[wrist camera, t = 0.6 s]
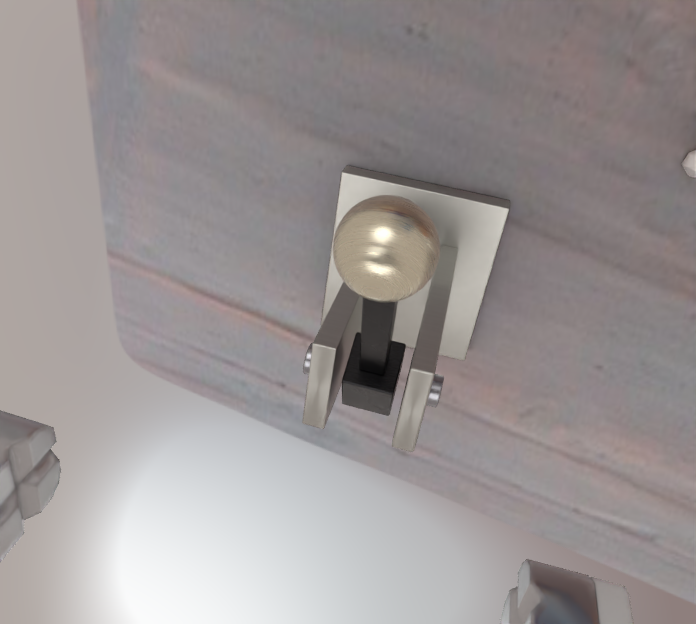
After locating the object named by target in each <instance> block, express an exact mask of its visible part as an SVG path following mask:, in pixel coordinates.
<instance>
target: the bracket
mask: <svg viewBox="0 0 696 624" xmlns="http://www.w3.org/2000/svg"><path fill="white" fill-rule="evenodd" d="M378 195H395V196H400V197H403V198H406V199H408V200H410V201H412V202H414V203H416V204H417V205H418V206H420V207H421V208H422V209H423V210H424V211H425V212H426V213H427V214H428V215H429V217H430V218H431V219H432V221H433V223H434V225H435V227H436V230H437V233H438V236H439V242H440V255H439V261H438V264H437V267H436V270H435V272H434V274H433V276H432V277H431V279H430V280H429V282H428V283H427V284H426V285H425V286H424V287H423V288H422V289H421V290H420V291H418V292H417V293H416V294H414V295H413V296H410V297H408V298H406V299H404V300H400V301H398V304H397V311H396V317H395V324H394V330H393V337H392V341H396V342H400V343H404V344H406V347H410V348H414V349H415V350H414V354H413V358H412V362H411V366H410V370H409V374H408V378H407V382H406V386H405V390H404V395H403V399H402V403H401V407H400V411H399V415H398V420H397V424H396V428H395V432H394V436H393V440H392V447H394V448H398V449H402V450H406V451H409V452H413V451H414V449H415V446H416V442H417V438H418V434H419V431H420V427H421V423H422V420H423V416H424V412H425V408H426V405H428V406H432V407H437V405H438V402H439V398H440V394H441V390H442V386H443V380H444V376H442V375H438V374H435V370H436V365H437V360H438V355H442V356H446V357H450V358H454V359H458V360H462V361H464V360H465V357H466V354H467V351H468V347H469V344H470V341H471V337H472V334H473V331H474V327H475V324H476V321H477V317H478V314H479V310H480V307H481V304H482V300H483V297H484V294H485V290H486V287H487V284H488V280H489V277H490V274H491V270H492V267H493V263H494V260H495V257H496V253H497V250H498V247H499V243H500V240H501V237H502V233H503V230H504V226H505V223H506V220H507V216H508V213H509V210H510V201H509V200H505V199H501V198H496V197H491V196H487V195H482V194H478V193H473V192H468V191H464V190H459V189H454V188H450V187H445V186H440V185H436V184H431V183H427V182H422V181H417V180H413V179H408V178H403V177H399V176H394V175H390V174H385V173H380V172H376V171H371V170H366V169H362V168H357V167H353V166H348V165H347V166H346V167H345V168H344V170H343V171H342V173H341V180H340V187H339V195H338V202H337V209H336V217H335V224H334V231H333V239H332V246H331V253H330V260H329V268H328V275H327V282H326V290H325V297H324V304H323V311H322V319H321V328H320V330H319V332H318V334H317V336H316V338H315V340H314V342H313V343H311V344H310V346H309V348H308V350H307V353H306V356H305V361H304V366H303V372H304V373H305V374H308V375H309V376H308V383H307V391H306V399H305V406H304V414H303V421H302V423H303V424H307V425H310V426H314V427H318V428H322V429H324V427H325V425H326V422H327V420H328V417H329V415H330V412H331V410H332V407H333V404H334V402H335V399H336V397H337V394H338V392H339V389H340V386H341V384H342V378H343V375H344V372H345V368H346V365H347V362H348V358H349V355H350V352H351V348H352V345H353V341H354V338H355V335H356V333H357V332H360V333H361V321H362V301H363V297H361V296H360V295H358V294H357V293H355V292H354V291H352V290H351V289H350V288H349V287H348V286H347V285H346V284H345V283H344V281H343V280H342V278H341V277H340V275H339V273H338V271H337V269H336V266H335V263H334V258H333V240H334V236H335V232H336V229H337V227H338V225H339V223H340V221H341V220H342V218H343V217H344V215H345V214H346V213H347V212H348V211H349V210H350V209H351V208H352V207H353V206H355V205H356V204H358V203H359V202H361V201H363V200H365V199H367V198H371V197H374V196H378Z"/></svg>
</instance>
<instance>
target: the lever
mask: <svg viewBox="0 0 696 624" xmlns="http://www.w3.org/2000/svg"><path fill="white" fill-rule="evenodd" d="M439 255H440V242H439V236H438V233H437V230H436V227H435V225H434V223H433V221H432V219H431V218H430V217H429V215H428V214H427V213H426V212H425V211H424V210H423V209H422V208H421V207H420V206H418V205H417V204H416V203H414V202H412V201H410V200H408V199H406V198H403V197H400V196H395V195H378V196H374V197H371V198H367V199H365V200H363V201H361V202H359V203H358V204H356V205H355V206H353V207H352V208H351V209H350V210H349V211H348V212H347V213H346V214H345V215H344V217H343V218H342V220H341V221H340V223H339V225H338V227H337V229H336V232H335V236H334V240H333V258H334V263H335V266H336V269H337V271H338V273H339V275H340V277H341V278H342V280H343V281H344V283H345V284H346V285H347V286H348V287H349V288H350V289H351V290H352V291H354V292H355V293H357V294H358V295H360V296H361V297H363V301H362V321H361V333H360V332H357V333H356V335H355V338H354V341H353V345H352V348H351V352H350V355H349V358H348V362H347V365H346V368H345V372H344V375H343V378H342V403H343V404H345V405H349V406H353V407H356V408H360V409H364V410H368V411H372V412H376V413H379V414H383V415H387V416H389V415H390V411H391V407H392V403H393V399H394V395H395V391H396V387H397V383H398V379H399V375H400V372H401V367H402V362H403V357H404V352H405V347H406V344H404V343H400V342H396V341H392V337H393V330H394V324H395V317H396V311H397V304H398V301H400V300H404V299H406V298H408V297H410V296H413V295H414V294H416V293H417V292H418V291H420V290H421V289H422V288H423V287H424V286H425V285H426V284H427V283H428V282H429V280H430V279H431V277H432V276H433V274H434V272H435V270H436V267H437V264H438V261H439Z"/></svg>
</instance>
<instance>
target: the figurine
mask: <svg viewBox="0 0 696 624" xmlns="http://www.w3.org/2000/svg"><path fill="white" fill-rule="evenodd" d="M682 166H683V168H684V170H685V171H686V173H687V175H688V176H690V177H694V178H696V150H694V151H692V152H689V153H688V155H687V156H686V158H685V159H684V161H683V163H682Z"/></svg>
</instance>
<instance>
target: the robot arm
mask: <svg viewBox="0 0 696 624" xmlns="http://www.w3.org/2000/svg"><path fill="white" fill-rule="evenodd" d="M55 442H56V437H55V432H54V428H53V427H51V426H48V425H45V424H42V423H39V422H36V421H32V420H29V419H26V418H23V417H19V416H16V415H13V414H10V413H7V412H3V411H0V562H1V561H2V559H3V558H4V557H5V556H6V554H7V553H8V552H9V551H10V550H11V548H12V547H13V546H14V545H15V544H16V542H17V541H18V540H19V539H20V537H21V536H22V535H23V534H24V520H26V519H28V518H30V517H32V516H34V515H36V514H39V513H41V512H42V510H43V509H44V508H45V507H46V505H47V504H48V503H49V501H50V500H51V499H52V497H53V494H54V492H55V490H56V488H57V486H58V483H59V478H60V471H61V469H60V461H59V459H58V458H57V457H56V455H55V454H54V453H53V452H52V450H51V449H50V448H51V447H52V446H53V445H54V444H55ZM500 624H634V622H633V616H632V610H631V604H630V598H629V593H628V591H627V589H626V588H625V586H622V585H618V584H615V583H611V582H608V581H604V580H601V579H597V578H593V577H589V576H588V575H584V574H581V573H578V572H573V571H570V570H566V569H563V568H559V567H555V566H551V565H548V564H544V563H540V562H536V561H532V560H529V559H526V560H525V561H524V562H523V563H522V566H521V567H520V570H519V572H518V587H516V588H513V589H511V590H510V591H509V594H508V596H507V599H506V601H505V604H504V608H503V612H502V616H501V621H500Z"/></svg>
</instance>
